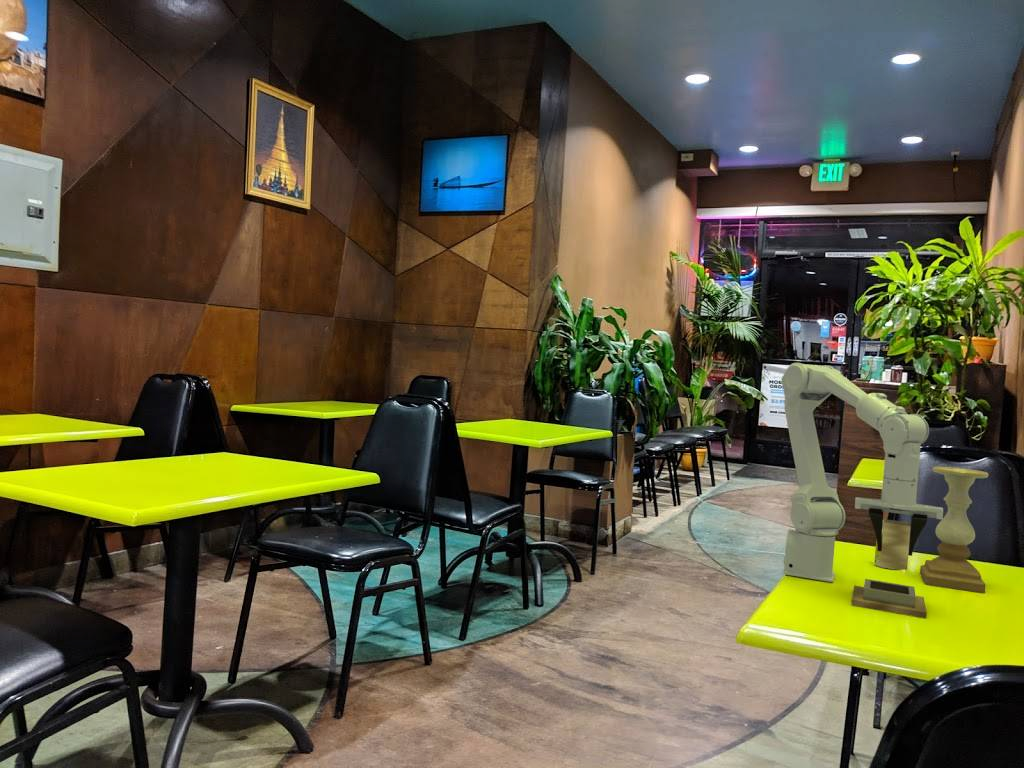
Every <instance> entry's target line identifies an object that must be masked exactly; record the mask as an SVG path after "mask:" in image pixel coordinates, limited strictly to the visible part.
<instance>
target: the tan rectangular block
mask: <svg viewBox="0 0 1024 768" xmlns="http://www.w3.org/2000/svg"><path fill="white" fill-rule="evenodd" d="M883 520H884V522H883V535H882V551H881V560H880V566H884V567H891V568H897V569H896V570H903V571H904V570H905V571H908V564H909V555H908V553H909V541H910V528H911V522H907V521H900V520H892V519H885V518H883Z"/></svg>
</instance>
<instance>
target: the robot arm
mask: <svg viewBox="0 0 1024 768" xmlns="http://www.w3.org/2000/svg"><path fill="white" fill-rule="evenodd" d="M781 384H782V388H783V389H782V390H783V395H784V412H785V420H786V425H787V429H788V434H789V440H790V445H791V450H792V456H793V461H794V465H795V472H796V476H797V481H798V482H797V483H798V487H799V488H798V489H796V491H795V492H794V494H792V495H791V497H790V501H791V508H790V509H791V510H790V519H791V522H792V525H793V527H795V528H794V529H788V530H787V534H786V539H785V540H786V541H785V553H784V554H785V555H784V557H783V572H782V573H783V575H785V576H786V575H787V576H793V577H798V578H805V579H811V580H817V581H821V582H829V583H834V579H835V576H836V572H834V571H833V569H834V556H835V545H836V544H835V543H836V535H839V531H840V530H841V529H842V528H843V526H844V525H845V522H846V512H845V511H846V510H845V509H844V506H843V505H842V503H841V502H840V499H839V495H838V493H837V492H836V491H835V490H834V489H833V488H832V487H831V486H829V485H828V483H827V478H826V477H827V476H826V472H825V468H824V463H823V459H822V458H823V457H822V453H821V452H822V451H821V447H820V443H819V442H820V441H819V438H818V432H817V427H816V423H815V416H814V411H815V409H817V408H816V407H819V406H820V405H821V404H822V403H823V402H824V401H825V400H826V399H828V397H829V396H831V395H834V397H835V396H836V397H837V398H839V399H840V400H842V401H844V402H846V403H847V404H848V405H850V406H852V407H854V408H855V412H856V413H855V414H856V415H857V417H858V418H859V419H861V421H863V422H865V423H866V424H867V425H869V426H870V427H872V428H873V429H874V430H876V431H878V432H879V436H880V438H881V439H882V444H883V447H882V448H883V450H884V463H883V476H882V477H883V478H882V488H881V489H882V490H881V499H880V498H869V497H868V498H867V497H856V496H855V502H854V509H857V510H858V509H859V510H868V516H869V519H870V521H871V524H872V527H873V530H874V533H875V540H876V539H877V547H878V548H877V551H882V526H883V520H884V512H885V513H891V514H901V515H908V516H910V515H911V516H910V525H911V528H910V541H909V553H908V557H909V556H911V557H912V556H913V552H914V550H915V549H914V548H915V546H916V543H917V540H918V538H919V536H920V534H921V532H922V531H923V529H924V528H925V526H927V523H928V518H933V519H936V520H942V519H943V518H944V508H943V507H942V506H941V507H939V506H933V505H926V504H921V503H920V504H919V503H917V493H918V481H919V469H920V458H921V457H920V456H921V446H922V444H924V443H925V442H926V441H927V439H928V437H929V434H930V427H929V423H928V422H927V421H926V419H925V418H923V416H922V415H921V414H917V413H910V414H908V413H907V412H906V409H905V407H903V406H898V405H896V404H894V403H893V402H891V401H890V400H888V399H887V398H888V396H887V395H886V394H885V393H880V392H871V393H867V392H865V391H864V390H862V389H861V388H860V387H859V386H857V385H856V384H855V383H854V382H852V381H851V380H850V379H848V378H847V377H845V376H844V375H843V374H842V373H841V371H840V370H838V369H835V368H834V367H833V366H831V365H826V364H825V365H816V364H809V363H808V364H805V363H801V362H793V363H791V364H790V365H789V366H788V367H787V368H786V370H785V372H784V373H783V375H782V377H781Z"/></svg>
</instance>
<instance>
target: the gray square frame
mask: <svg viewBox="0 0 1024 768" xmlns="http://www.w3.org/2000/svg"><path fill="white" fill-rule="evenodd" d="M863 585H864V586H863V587H864V594H863V599H864V600H870V601H876V602H882V603H888V604H893V605H899V606H905V607H911V608H915V601H916V596H917V595H916V588H915V586H912V585H905V584H899V583H894V582H888V581H880V580H874V579H869V578H865V579H864V584H863Z"/></svg>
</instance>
